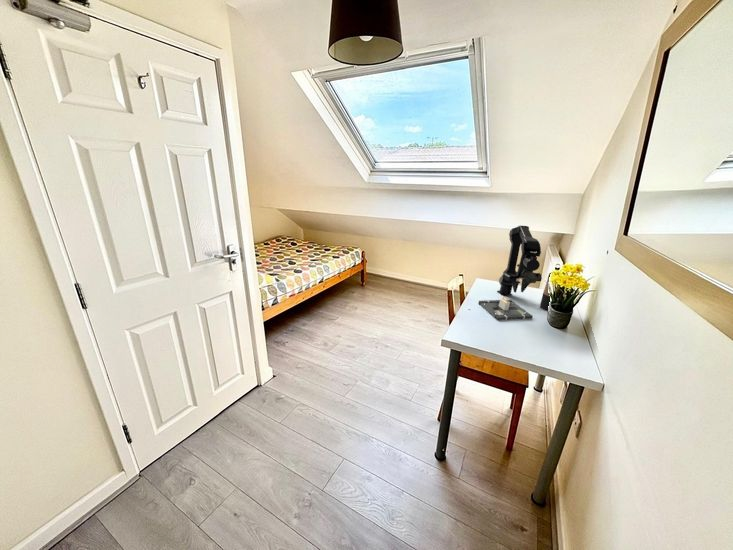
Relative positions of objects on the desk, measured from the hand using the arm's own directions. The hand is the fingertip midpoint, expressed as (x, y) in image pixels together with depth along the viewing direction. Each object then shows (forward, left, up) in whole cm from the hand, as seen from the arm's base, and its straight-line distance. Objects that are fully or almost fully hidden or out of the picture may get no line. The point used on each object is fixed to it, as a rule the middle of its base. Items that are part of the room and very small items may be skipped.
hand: (518, 292), depth 157 cm
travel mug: (-1, +21, -11) cm, 24 cm away
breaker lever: (0, -7, -9) cm, 11 cm away
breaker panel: (0, -6, -11) cm, 12 cm away
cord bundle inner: (-8, -6, -11) cm, 15 cm away
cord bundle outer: (+8, -6, -11) cm, 15 cm away
